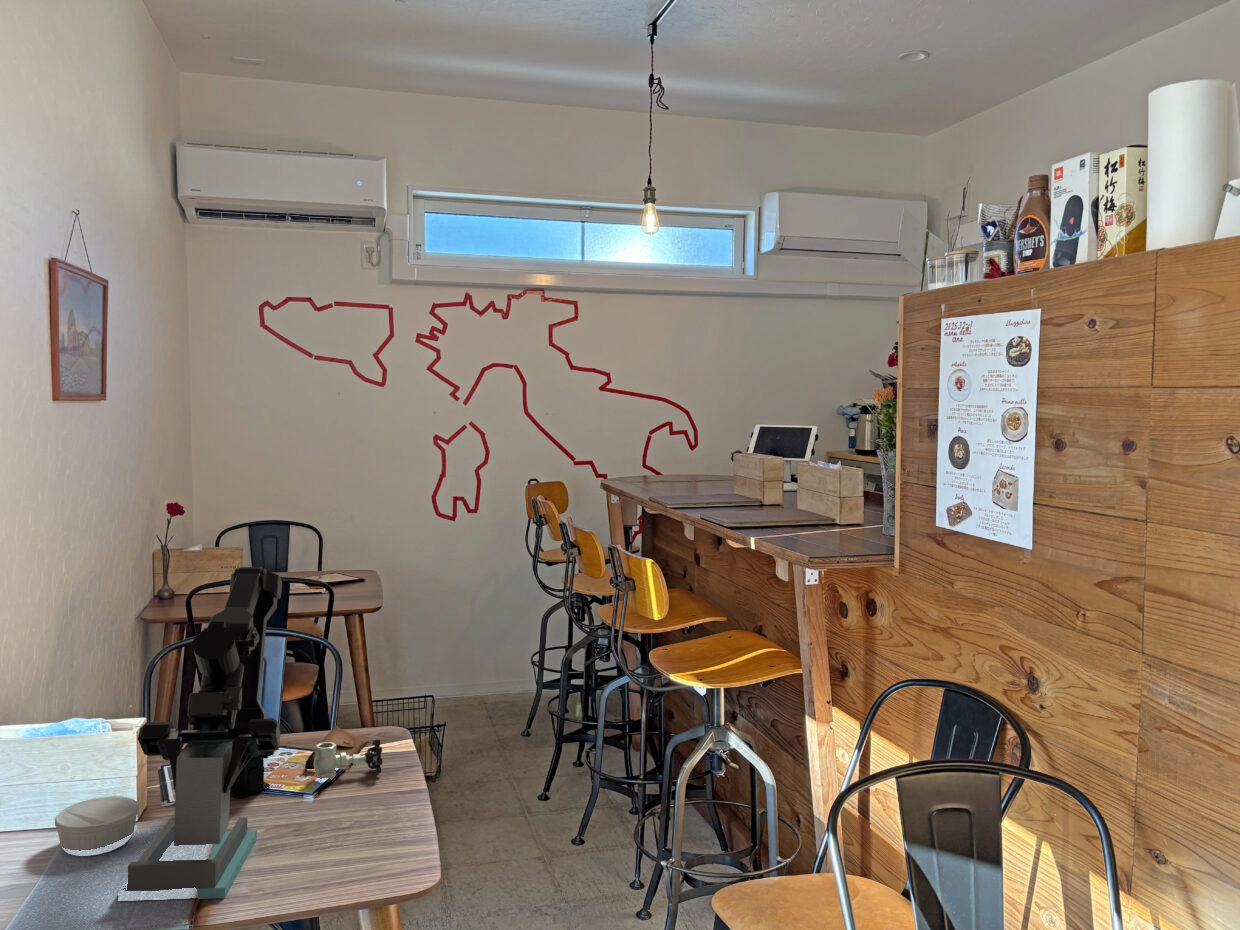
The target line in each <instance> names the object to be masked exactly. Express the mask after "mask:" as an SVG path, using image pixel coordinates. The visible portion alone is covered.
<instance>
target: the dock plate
mask: <svg viewBox="0 0 1240 930" xmlns="http://www.w3.org/2000/svg"><path fill="white" fill-rule="evenodd" d="M174 820H175V818H171V819H169V821H168V822H167V823H166V824H165V825H164V827H163V828H162V829H161V831H160V832H159V833H158V834H157V836H156V837H155V838H154V840H152V842H151V843H150V845H149V846H148V847H147V848H146V849H145V851H144V852H142V854H141V856H140V857H139V858H138V859H137V861H130V863H128V865H127V878H128V884H127V890H126V888H123V890H124V889H125V891H159V890H169V889H170V890H172V889H182V888H194V887H195V888H196V889H197V891H198V899H197V900H210V899H211V900H213V899H226V896H227V895H228V893H229V891H230V889H231V887H232V886H233V884H234V882H235V880H236V878H237V876H238V874H239V873H240V871H241V869H242V868H243V866H244V865H245V862H246V861H247V859H248V856H249V855H250V853H251V851H252V849H253V848H254V845H255V843H256V842H257V839H258V829H248V817H247V816H246V817H244V816H243V817H241V816H240V817H239V818H238V819H237V821H236V822H235V824H234V825H233V827H232V829H231V830H226V831H225V833H224V836H223V838H222V840H221V842H220V844H214V847H213V850H212V851H211V856H210V857H209V859H206V860H173V861H159V859H160V858H161V857H162V855H163V853H164V852H165V851H166V849H167V848H168V847H169V846H170V845H171V843H172V842H173V841H174ZM125 884H126V883H125ZM123 887H124V886H123ZM125 887H126V886H125ZM119 888H121V886H120V887H119ZM121 890H122V889H121ZM117 891H119V889H117Z"/></svg>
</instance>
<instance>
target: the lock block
mask: <svg viewBox="0 0 1240 930" xmlns="http://www.w3.org/2000/svg"><path fill="white" fill-rule="evenodd" d="M182 749H183V750H182V752H181V753H180V754H179V756H178V757H177V766H176V793H175V792H174V795H175V796H174V797H175V799H174V800H175V801H174V819H175V820H174V846H179V845H206V844H220V842H221V840H222V838H223V836H224V833H225V831H227V829H228V827H229V825H230V804H231V803H230V801H231V795H230V790H229V791H228V793H224V784H225V778H226V774H227V771H228V767H229V763H230V760H231V756H232V742H188V743H187V744H185V746H184V747H183V748H182Z"/></svg>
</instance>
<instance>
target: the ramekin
mask: <svg viewBox="0 0 1240 930" xmlns="http://www.w3.org/2000/svg"><path fill="white" fill-rule="evenodd" d="M139 811H140V803H139V802H138V800H136V799H134V798H130V797H127V796H126V797H125V796H119V795H118V796H116V795H113V796H111V795H110V796H103V797H96V798H95V797H94V798H91V799H86V800H82V801H80V802H77V803H73V804H71V805H69V806H67V807H65V808H63V809H62V810H61V811H59V812H58V814H57V815H56V816H55V817H54V826H55V828H56V830H57V834H58V840H59V845H60V848H61V847H63V848H65V849H70V850H79V851H81V850H91V849H97V848H100V847H105V846H107V845H110V844H113V843H114V842H117V841H119V840H121V839H123V838H125V837H127V836H129V835H131V834H132V833H133V834H134V832H135V827H136V822H137V817H138V816H137V815H138V814H139Z"/></svg>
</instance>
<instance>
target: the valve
mask: <svg viewBox="0 0 1240 930" xmlns="http://www.w3.org/2000/svg"><path fill="white" fill-rule="evenodd" d="M371 742H372V744H371V745H372V747H369V748H367V750H366V752H365V754H364V755H361V754H360V753H359V754H353V755H352V756H351V757H350V756H349V755H346V752H342V753H340V754H339V755H335V753H336V744H335V743H332V742H323V743H320V742H319V743H317V744H316V745H315V747H314V749H315V755H316V757H315V759H314V769H315V771H316V772H313V773H314V775H313V776H314V777H317V778H320V779H322V778H330V779H331V780H332V779H333V778H334V777H335V776H336V775H337V773H336V770H335V768H340V769H346V766H347V765H349V764H350V763H352V765H359V764H361V762H364V764H367V767H368V768H369V769H371V770H372V773H373V772H374V773H376V774H375V775H378V773H379V774H382V766H381V765H383V758H382V753H383V747H382V746H381V739H373V740H372V741H371ZM374 773H373V774H374Z"/></svg>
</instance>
